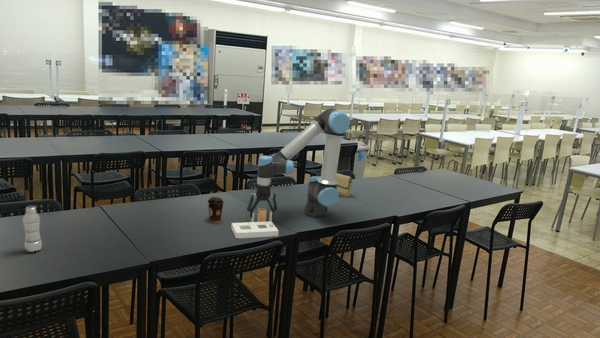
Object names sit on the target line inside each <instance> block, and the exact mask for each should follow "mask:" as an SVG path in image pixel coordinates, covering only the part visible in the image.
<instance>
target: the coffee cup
mask: <svg viewBox="0 0 600 338" xmlns="http://www.w3.org/2000/svg"><path fill="white" fill-rule="evenodd" d="M207 203H208V206H207V207H208V220H209V222H211V223H214V224H217V223H218V224H219V223H221V221H222V214H223V207H224V206H223V205H224V200H223V198H221V197H218V196H210V197H209V198H208V200H207Z"/></svg>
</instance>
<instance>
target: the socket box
mask: <svg viewBox="0 0 600 338" xmlns="http://www.w3.org/2000/svg"><path fill="white" fill-rule="evenodd" d="M230 228H231V230H232V232H233V235H234V236H235V239H237V238H238V239H251V238H252V239H254V238H256V239H257V238H270V237H272V238H273V236H274V237H279V230H278V228H277V226H275V224H274V223H273V221H269V220H268V221H266V222H257V221H254V222H251V221H249V222H231V227H230Z"/></svg>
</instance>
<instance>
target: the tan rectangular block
mask: <svg viewBox="0 0 600 338" xmlns="http://www.w3.org/2000/svg"><path fill="white" fill-rule="evenodd" d="M256 222H267V209H266V207H265V208H264V207H258V208H257V217H256Z"/></svg>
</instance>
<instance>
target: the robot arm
mask: <svg viewBox="0 0 600 338" xmlns="http://www.w3.org/2000/svg"><path fill="white" fill-rule="evenodd" d="M350 125H351V120H350V117H349V116H348V114H346V113H345V112H344V111H342V110H338V109H336V108H327V109H325V110H323V111H322V112H321V113H319V114H318V115H317V116H316V117H315V118H313V120H312V123H310V124H309V125H308V126H307V127H306V128H305V129H303V130H302V131H301V132H300V133H299V134H298V135H296V136H295V137H294V138H293V139H292V140H291V141H290V142H288V143H287V144H286V145H285V146H284V147H283V148H282V149H280V150H279V151H278V152H277V153H273V154H272V155H260V156H259V157H258V161H257V162H258V163H257V179H256V183H257V184H256V192H255V193H252V192H251V193H250V198H249V201H248V205H247V207H246V210H247V212H249V218H251V219H250V222H255V220H254V219H255V212H254V211H255V209H256V208H257V206H258V204H259V203H260V202H263V201H264V202H265V201H266V203H267V204H268V207H269V209H270V210H269V214H268V216H269V217H268V221H272V220H273V219H272V218H273V217H274V216H275V212H276V211H278V206H277V201H276V196H277V195H276V193H275V192H273V193H272V192H271V188H272V187H271V184H272V175H273V174H274V175H289V174H290V175H291V174H293V172H294V170H295V169H294V168H295V166H294V165H295V164H294V161H293V160H291V159H292V158H293V157H294V156H295V155H297V154H298V153H299V152H300V151H301V150H303V149H304V148H305V147H306V146H308V145H309V144H310V143H311V142H312V141H314V140H315V138H317V137H318V136H319V135H320V134H324V135H325V137H326V139H325V145H324V151H323V159H322V166H321V169H322V171H321V170H320V171H321V176H318V175H317V176H313V175H312V176H310V177H309V178H308V182H307V183H308V186H307V198H306V199H307V200H306V203H305V204H304V207H303V210H302V213H303V214H304V215H306V216H307V217H312V218H325V217H327V216H328V214H329V209H328V207H331V206H333V205H335V204H336V203H337V201H338V200H339V198H340V197H339V196H340V194H338V191H337V184H338V183H337V181H336V180H335V179H336V173H337V172H338V165H339V159H340V158H339V157H340V151H341V144H342V140H343V138H344V137H346V132H347V131H348V130H349V128H350ZM255 197H256V199H255ZM270 197H271V199H272V203H271V201H270V199H269V198H270ZM254 199H255V201H254ZM272 204H273V205H272ZM272 222H273V221H272Z"/></svg>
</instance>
